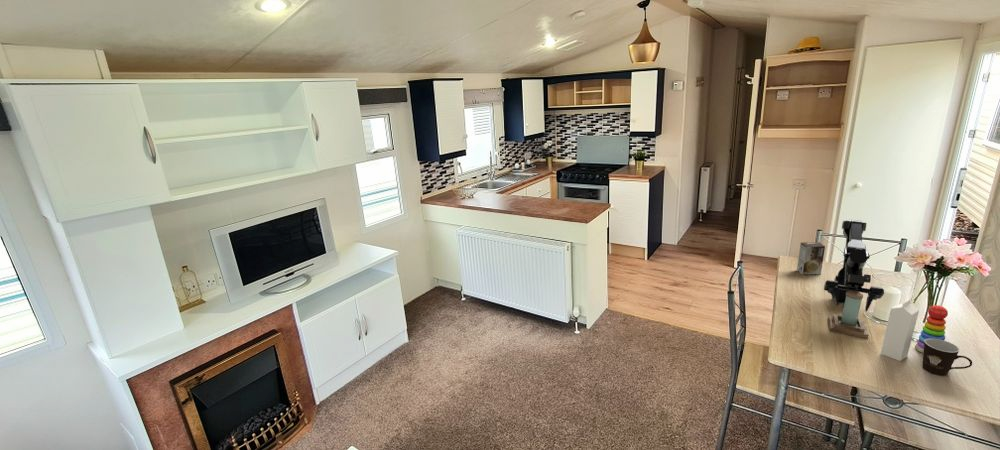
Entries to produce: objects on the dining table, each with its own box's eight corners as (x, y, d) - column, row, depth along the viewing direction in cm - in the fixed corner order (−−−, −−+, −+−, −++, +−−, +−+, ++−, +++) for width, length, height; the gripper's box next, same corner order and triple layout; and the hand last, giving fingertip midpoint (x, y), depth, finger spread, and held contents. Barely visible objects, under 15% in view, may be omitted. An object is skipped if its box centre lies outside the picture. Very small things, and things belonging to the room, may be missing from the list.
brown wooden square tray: (828, 318, 189) (829, 311, 188) (863, 324, 183) (865, 318, 182) (830, 331, 180) (831, 324, 179) (868, 338, 173) (869, 331, 173)
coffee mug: (911, 364, 157) (917, 339, 154) (933, 361, 158) (940, 337, 155) (945, 384, 146) (952, 358, 143) (969, 382, 147) (977, 356, 144)
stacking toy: (931, 345, 167) (943, 301, 161) (950, 358, 159) (963, 311, 154) (909, 345, 168) (920, 301, 162) (926, 357, 160) (938, 311, 155)
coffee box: (814, 270, 236) (819, 241, 232) (821, 274, 230) (826, 246, 226) (795, 270, 238) (800, 242, 233) (802, 274, 232) (806, 246, 227)
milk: (907, 356, 162) (922, 302, 155) (900, 361, 159) (914, 307, 152) (887, 348, 167) (900, 296, 160) (879, 353, 164) (892, 300, 157)
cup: (850, 321, 183) (856, 290, 179) (859, 327, 178) (866, 296, 174) (836, 321, 184) (843, 291, 180) (846, 328, 179) (852, 296, 174)
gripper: (829, 262, 182) (826, 297, 176) (888, 269, 172) (887, 306, 166) (824, 272, 190) (822, 306, 185) (880, 280, 181) (879, 316, 175)
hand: (851, 308), depth 177 cm, fingers open, 9 cm apart
